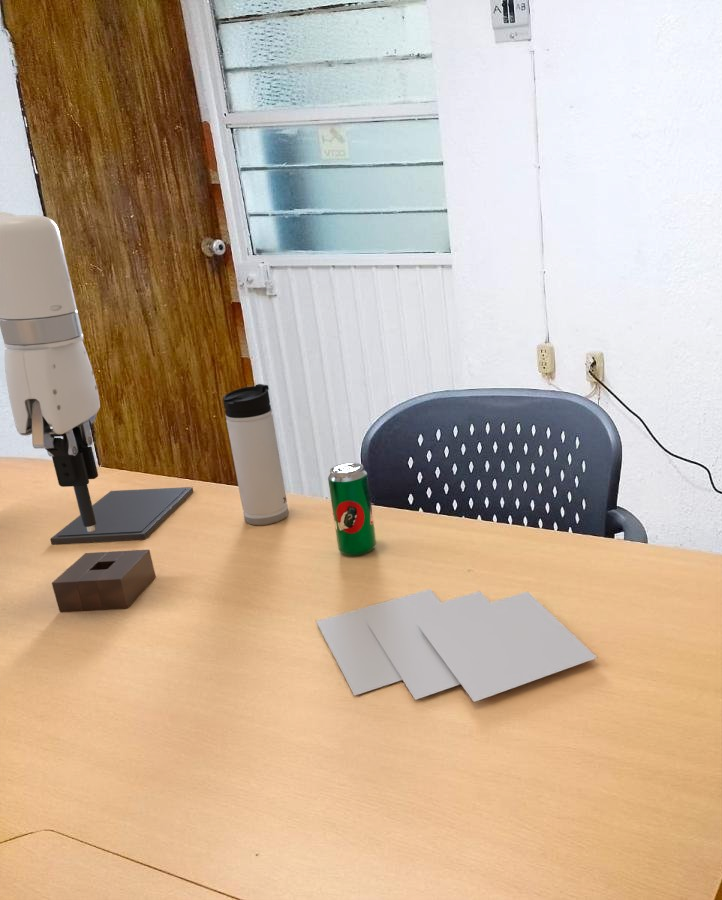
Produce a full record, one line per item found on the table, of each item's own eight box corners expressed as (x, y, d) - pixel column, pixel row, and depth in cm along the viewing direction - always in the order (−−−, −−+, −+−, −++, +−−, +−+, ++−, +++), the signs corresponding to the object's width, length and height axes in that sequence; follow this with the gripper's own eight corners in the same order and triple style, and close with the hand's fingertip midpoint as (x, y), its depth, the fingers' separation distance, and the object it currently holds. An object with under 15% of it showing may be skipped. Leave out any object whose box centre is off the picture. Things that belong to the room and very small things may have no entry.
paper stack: (378, 742, 76) (377, 736, 76) (315, 621, 96) (315, 616, 96) (597, 663, 87) (597, 657, 87) (499, 569, 107) (499, 564, 107)
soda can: (383, 548, 114) (373, 467, 110) (350, 561, 111) (338, 478, 107) (365, 537, 118) (354, 458, 114) (332, 549, 114) (320, 468, 110)
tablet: (51, 544, 118) (49, 538, 118) (111, 495, 135) (110, 490, 135) (145, 539, 119) (143, 533, 119) (193, 491, 136) (192, 486, 136)
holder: (59, 612, 100) (51, 582, 99) (92, 580, 108) (85, 552, 106) (127, 608, 101) (120, 579, 99) (155, 576, 108) (149, 549, 107)
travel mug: (299, 512, 127) (279, 386, 120) (263, 529, 121) (240, 397, 115) (272, 505, 130) (251, 381, 123) (235, 520, 124) (211, 392, 118)
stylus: (82, 533, 101) (59, 440, 96) (88, 528, 102) (65, 436, 98) (94, 532, 101) (71, 439, 97) (100, 528, 102) (78, 435, 98)
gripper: (45, 317, 100) (80, 460, 106) (-38, 346, 85) (7, 509, 92) (110, 316, 100) (140, 458, 107) (38, 344, 86) (78, 507, 92)
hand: (79, 481), depth 99 cm, fingers closed on stylus, 1 cm apart
